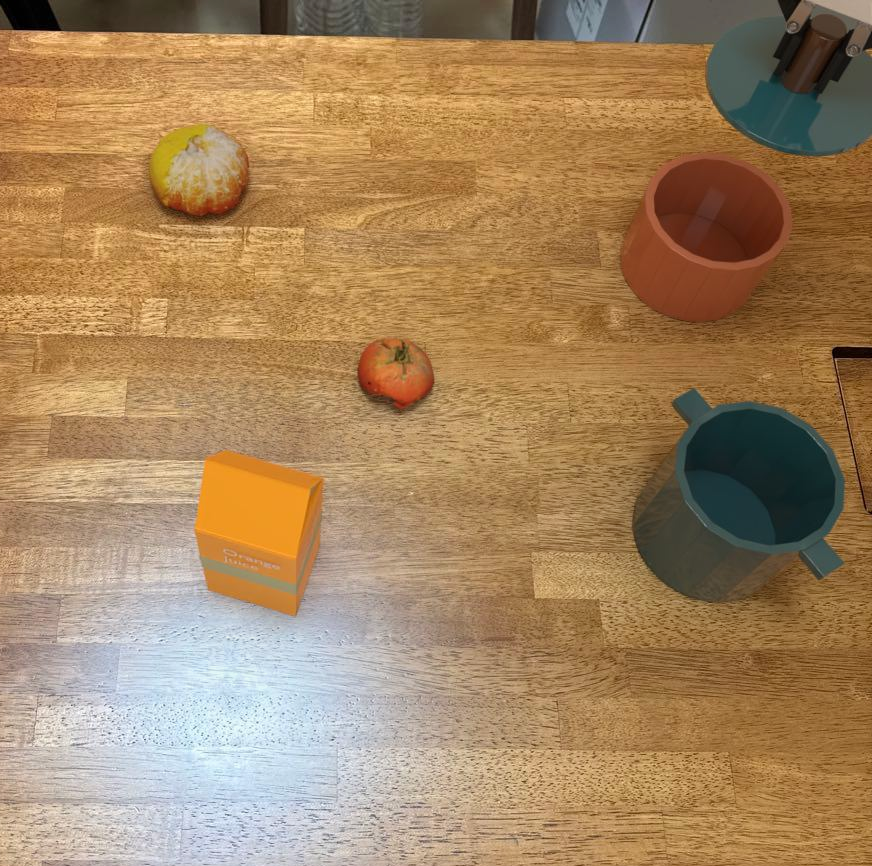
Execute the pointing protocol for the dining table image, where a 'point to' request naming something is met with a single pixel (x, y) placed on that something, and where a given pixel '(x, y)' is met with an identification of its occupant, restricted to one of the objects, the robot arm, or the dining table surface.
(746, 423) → the pot
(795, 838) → the dining table surface
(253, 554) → the orange juice
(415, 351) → the tomato
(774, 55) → the robot arm
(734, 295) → the canister
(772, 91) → the lid
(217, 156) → the fruit
